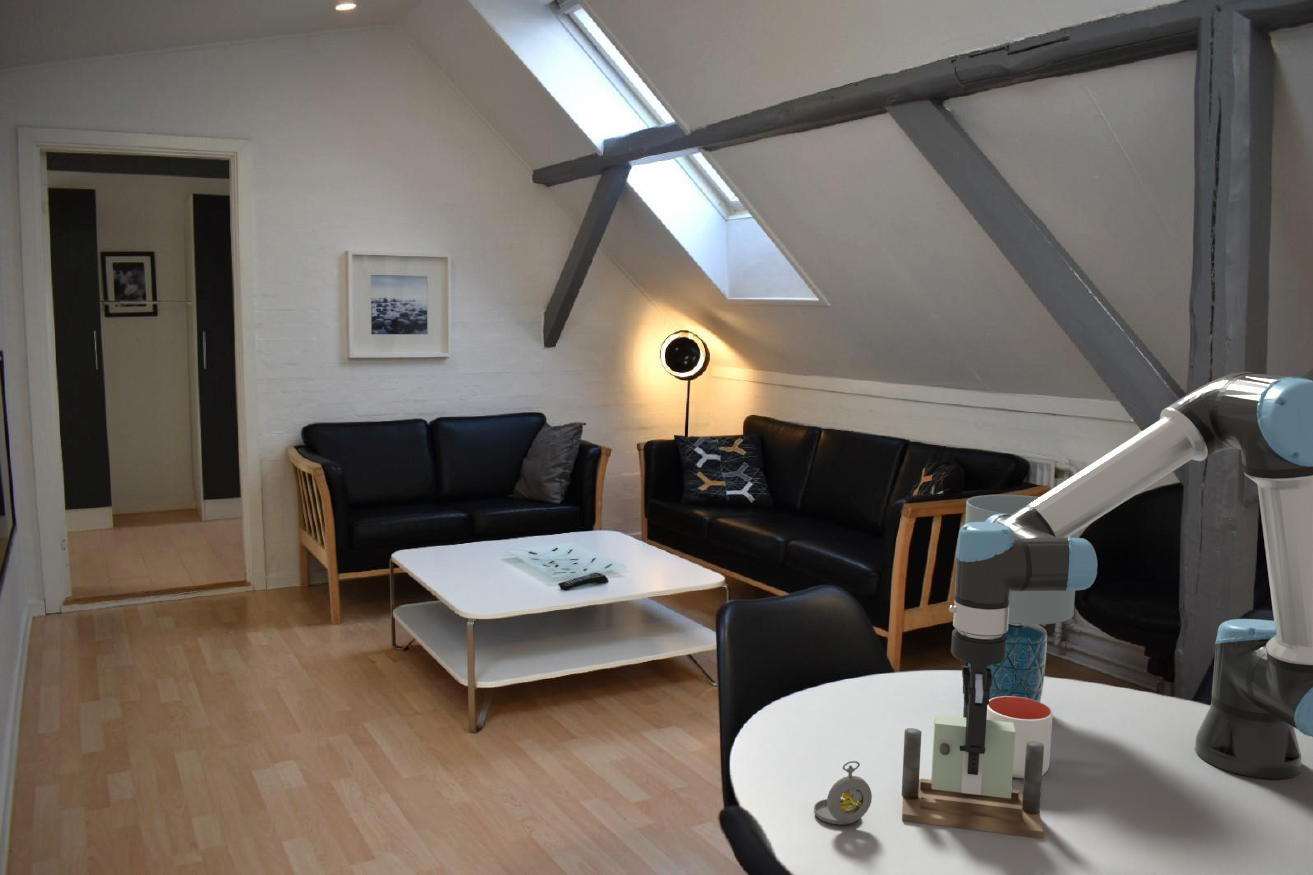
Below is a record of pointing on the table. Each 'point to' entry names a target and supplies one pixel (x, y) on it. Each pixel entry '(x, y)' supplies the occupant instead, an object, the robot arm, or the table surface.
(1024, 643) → the lamp
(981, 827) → the hinge board
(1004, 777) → the door
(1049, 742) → the cup
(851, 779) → the pocket watch
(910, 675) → the table surface
